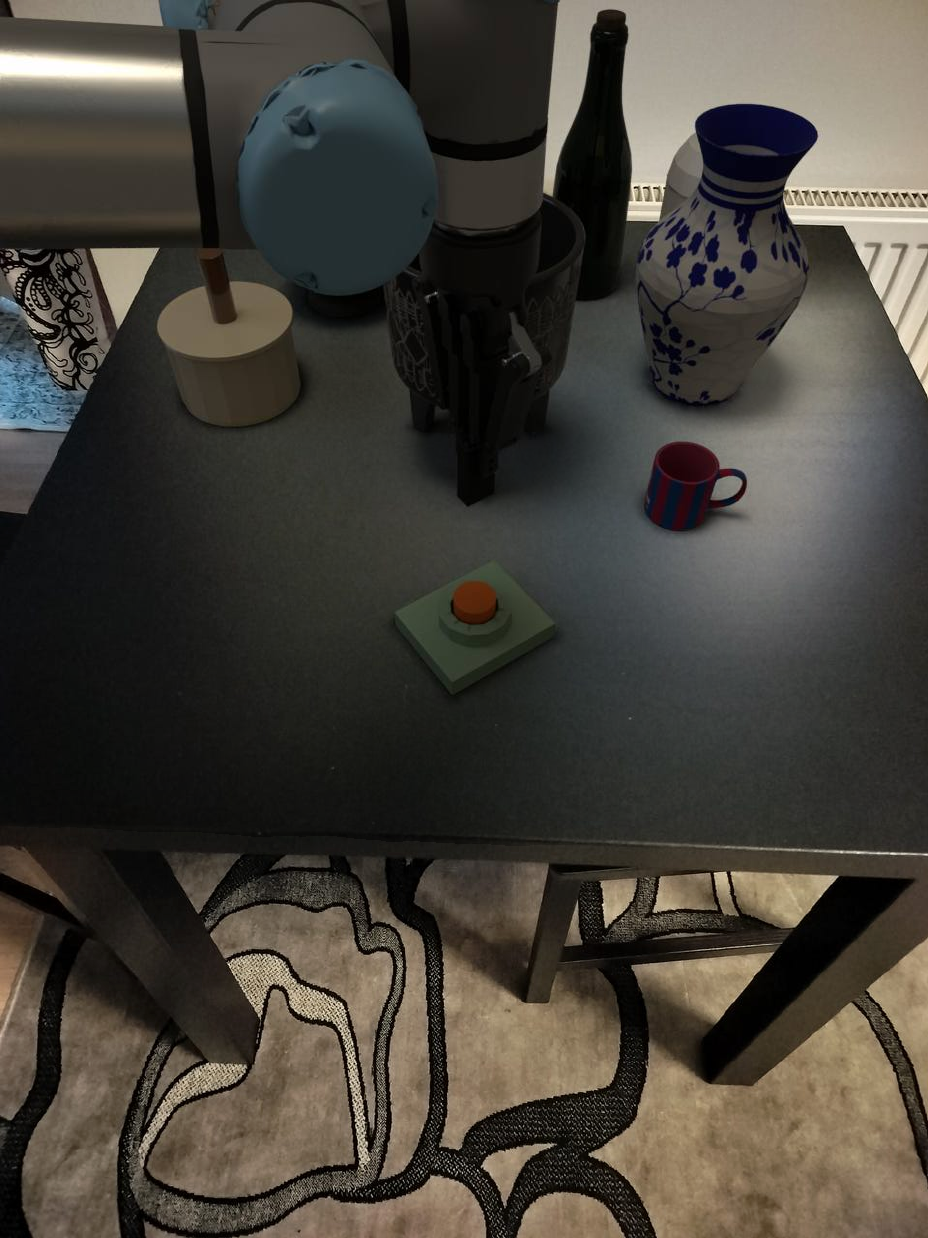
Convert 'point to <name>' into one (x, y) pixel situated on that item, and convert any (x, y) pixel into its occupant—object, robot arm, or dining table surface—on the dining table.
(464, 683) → the block
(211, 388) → the canister
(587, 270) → the wine bottle
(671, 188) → the container
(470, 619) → the button
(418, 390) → the planter
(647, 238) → the vase
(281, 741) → the dining table surface
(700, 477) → the cup
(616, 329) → the dining table surface
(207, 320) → the lid
